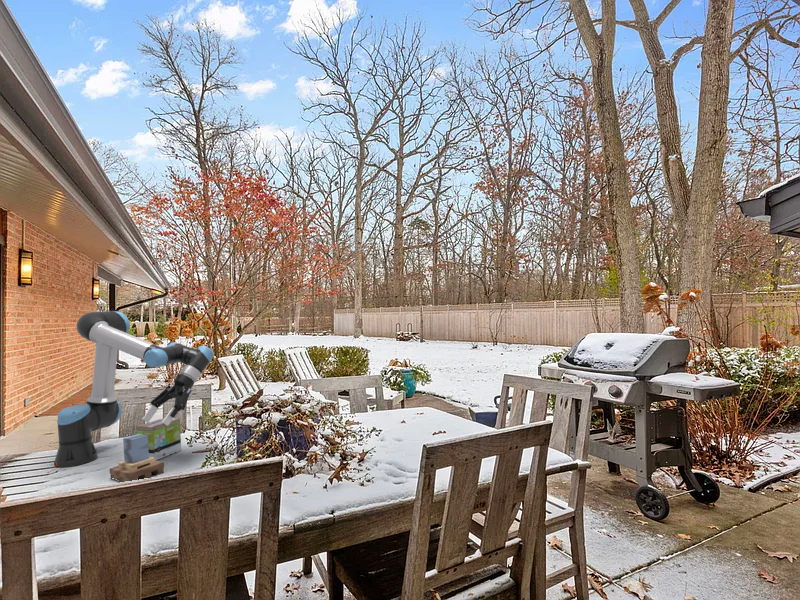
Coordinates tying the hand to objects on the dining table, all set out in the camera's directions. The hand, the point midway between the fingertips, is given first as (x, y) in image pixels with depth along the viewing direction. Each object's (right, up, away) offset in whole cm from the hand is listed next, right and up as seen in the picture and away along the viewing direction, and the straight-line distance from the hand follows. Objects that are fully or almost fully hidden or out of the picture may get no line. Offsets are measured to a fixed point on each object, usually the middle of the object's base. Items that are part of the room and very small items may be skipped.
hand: (154, 422), depth 185 cm
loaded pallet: (-3, -15, -7) cm, 16 cm away
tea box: (-7, -19, +18) cm, 27 cm away
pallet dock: (-3, -19, -7) cm, 20 cm away
